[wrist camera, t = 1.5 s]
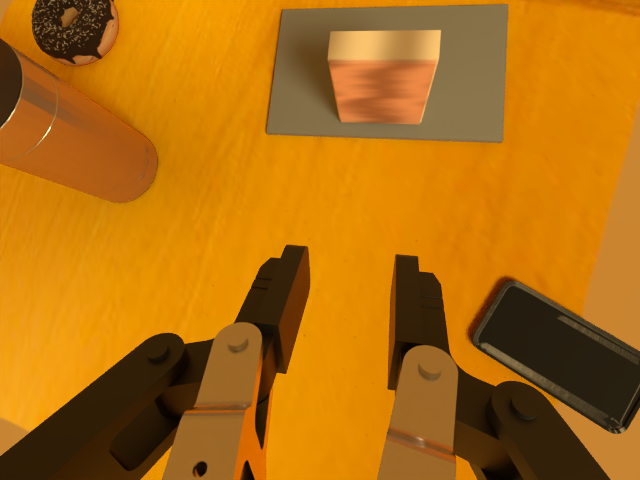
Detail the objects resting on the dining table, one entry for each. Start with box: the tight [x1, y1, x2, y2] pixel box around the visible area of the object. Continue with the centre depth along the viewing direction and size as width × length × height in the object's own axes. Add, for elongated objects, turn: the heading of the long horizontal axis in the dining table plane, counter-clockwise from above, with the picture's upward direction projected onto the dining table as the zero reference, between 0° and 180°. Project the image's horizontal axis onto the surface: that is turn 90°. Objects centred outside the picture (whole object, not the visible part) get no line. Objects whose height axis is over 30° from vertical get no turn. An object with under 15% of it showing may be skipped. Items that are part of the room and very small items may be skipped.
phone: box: [471, 281, 640, 434], centre depth 34 cm, size 8×1×15 cm
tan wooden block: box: [328, 30, 441, 125], centre depth 34 cm, size 9×3×11 cm, turn 84°
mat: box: [266, 4, 508, 143], centre depth 41 cm, size 26×16×1 cm, turn 84°
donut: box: [32, 0, 119, 66], centre depth 47 cm, size 11×12×4 cm
